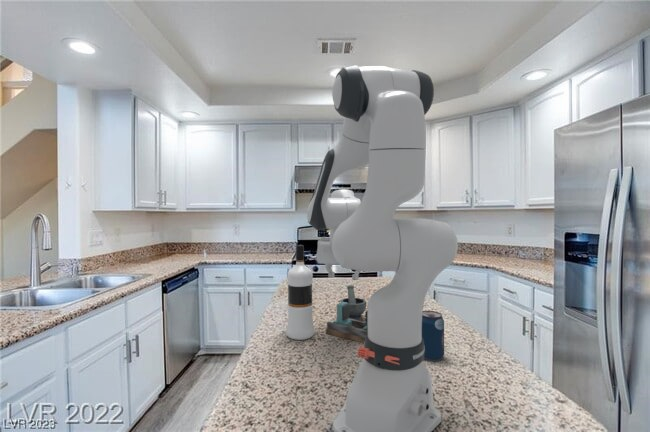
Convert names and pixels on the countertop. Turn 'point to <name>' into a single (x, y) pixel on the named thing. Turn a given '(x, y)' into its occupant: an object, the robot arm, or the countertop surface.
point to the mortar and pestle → (354, 304)
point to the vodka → (300, 299)
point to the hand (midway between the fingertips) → (343, 278)
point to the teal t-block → (343, 314)
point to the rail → (350, 329)
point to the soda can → (433, 335)
